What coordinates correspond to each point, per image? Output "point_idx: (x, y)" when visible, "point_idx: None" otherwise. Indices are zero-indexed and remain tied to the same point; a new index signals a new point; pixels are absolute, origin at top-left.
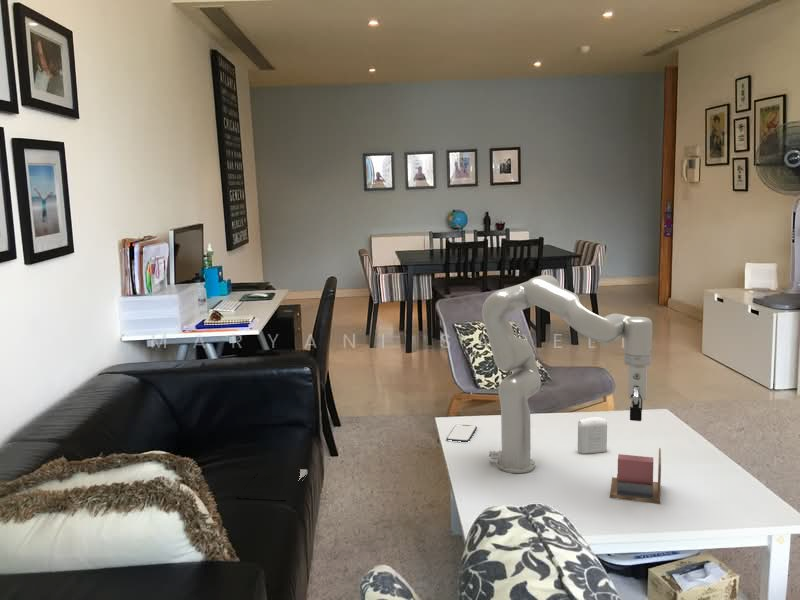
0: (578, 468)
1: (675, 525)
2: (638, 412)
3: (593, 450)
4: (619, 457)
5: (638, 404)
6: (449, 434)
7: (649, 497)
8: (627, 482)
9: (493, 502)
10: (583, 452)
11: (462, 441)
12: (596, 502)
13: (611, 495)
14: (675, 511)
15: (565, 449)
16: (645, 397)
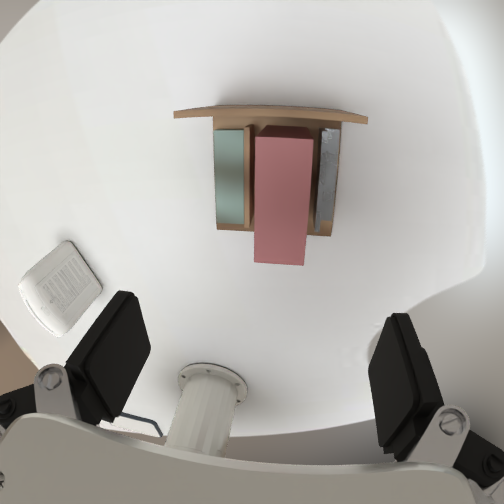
0: (176, 295)
1: (448, 95)
2: (436, 384)
3: (85, 269)
4: (287, 259)
5: (500, 451)
6: (146, 434)
7: (336, 137)
8: (318, 205)
9: (367, 397)
10: (99, 286)
11: (157, 426)
12: (359, 260)
13: (330, 231)
14: (377, 77)
15: (97, 313)
16: (472, 494)
